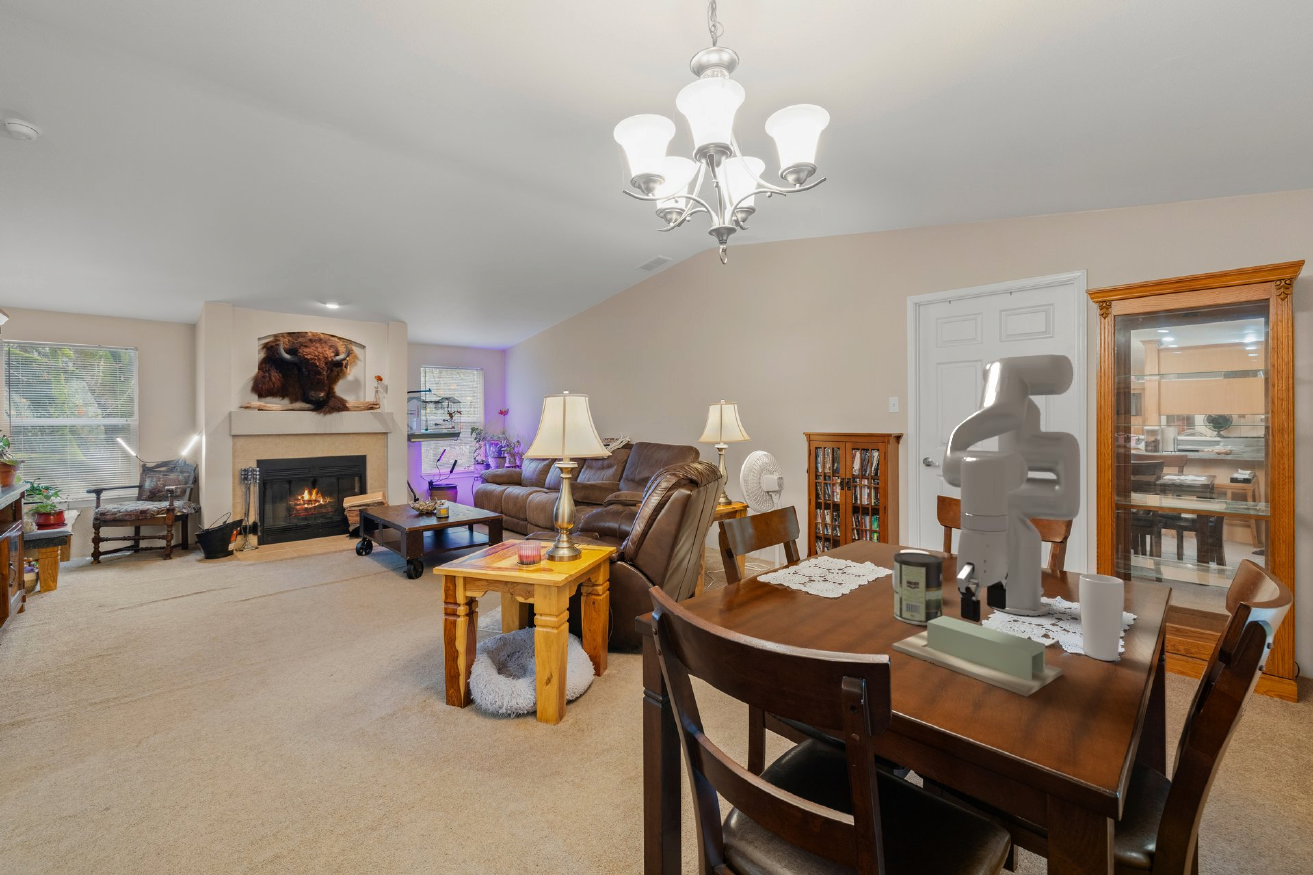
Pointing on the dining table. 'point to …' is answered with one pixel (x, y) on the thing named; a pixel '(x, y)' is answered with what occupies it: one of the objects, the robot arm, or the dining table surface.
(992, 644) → the long sage green beam
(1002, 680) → the board
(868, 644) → the dining table surface
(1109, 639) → the drinking glass
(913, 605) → the coffee can
